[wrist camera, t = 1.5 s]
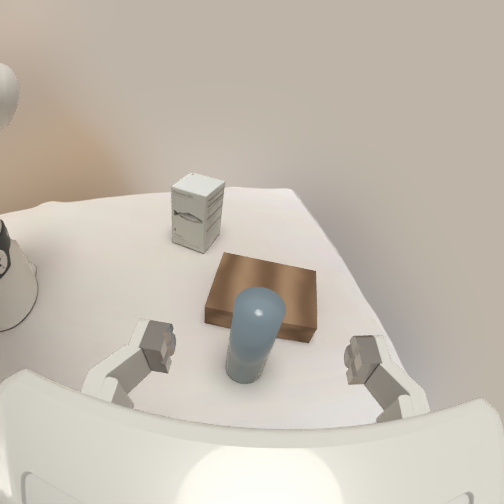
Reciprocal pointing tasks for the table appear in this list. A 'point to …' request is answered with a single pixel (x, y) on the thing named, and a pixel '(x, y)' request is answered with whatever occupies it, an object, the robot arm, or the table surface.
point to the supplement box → (196, 211)
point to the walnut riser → (274, 278)
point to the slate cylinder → (253, 332)
